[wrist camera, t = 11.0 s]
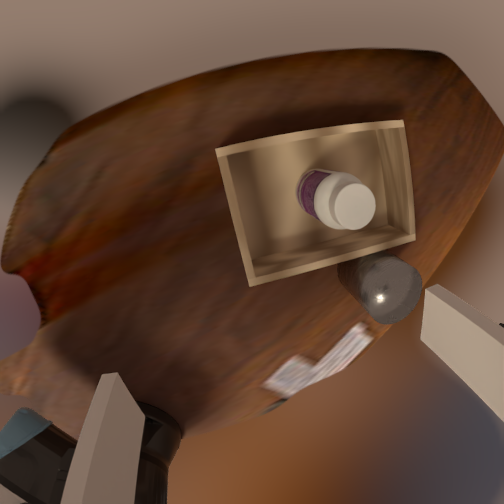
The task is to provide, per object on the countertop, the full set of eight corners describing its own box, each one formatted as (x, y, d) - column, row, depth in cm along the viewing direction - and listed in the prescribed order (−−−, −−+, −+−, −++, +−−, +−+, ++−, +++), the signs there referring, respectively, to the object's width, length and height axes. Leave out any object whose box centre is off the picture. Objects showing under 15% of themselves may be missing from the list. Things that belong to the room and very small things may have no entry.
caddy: (243, 265, 35) (249, 286, 29) (215, 150, 30) (215, 148, 25) (390, 227, 35) (415, 240, 30) (376, 122, 31) (403, 119, 25)
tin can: (339, 296, 38) (369, 332, 29) (334, 247, 35) (368, 276, 27) (384, 281, 38) (420, 312, 29) (382, 234, 36) (423, 257, 27)
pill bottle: (301, 221, 33) (333, 247, 24) (288, 175, 31) (318, 185, 22) (343, 206, 33) (387, 227, 24) (332, 162, 31) (376, 168, 22)
